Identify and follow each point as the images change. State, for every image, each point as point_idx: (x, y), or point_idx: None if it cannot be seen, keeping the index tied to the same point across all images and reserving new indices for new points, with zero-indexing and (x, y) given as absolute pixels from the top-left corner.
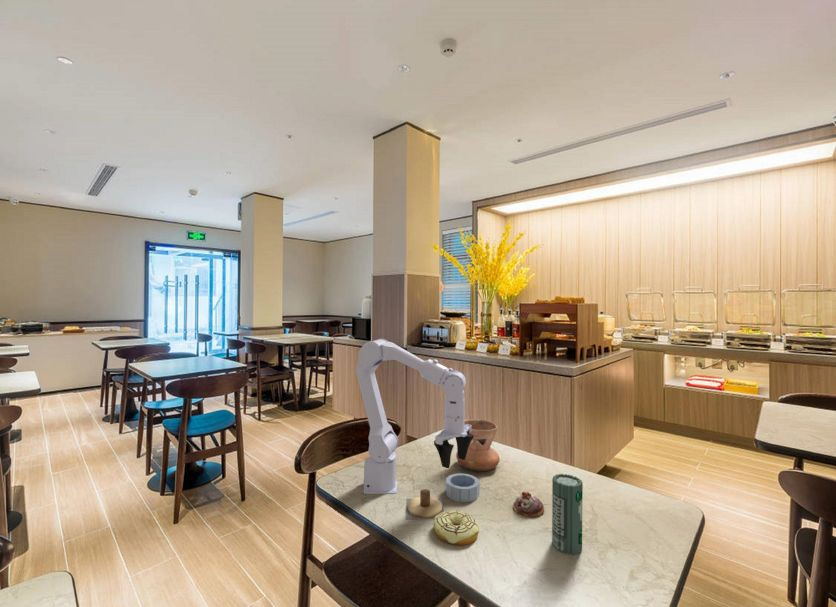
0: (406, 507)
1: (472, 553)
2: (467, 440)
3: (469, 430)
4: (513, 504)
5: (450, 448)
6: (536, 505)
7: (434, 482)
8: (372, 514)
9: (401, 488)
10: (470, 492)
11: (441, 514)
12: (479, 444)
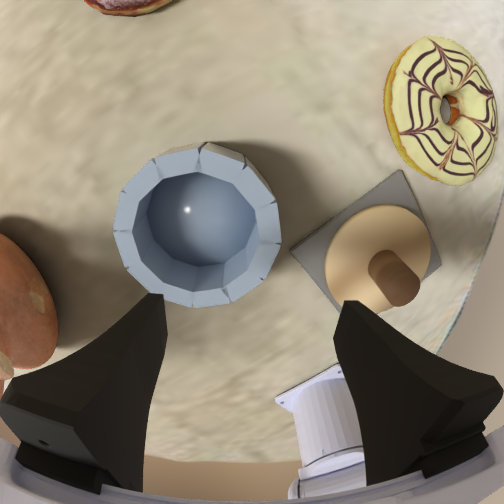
0: None
1: (465, 45)
2: (101, 403)
3: (7, 462)
4: (152, 8)
5: (473, 380)
6: None
7: (198, 335)
8: (436, 332)
9: (299, 372)
10: (238, 157)
11: (458, 170)
12: None
